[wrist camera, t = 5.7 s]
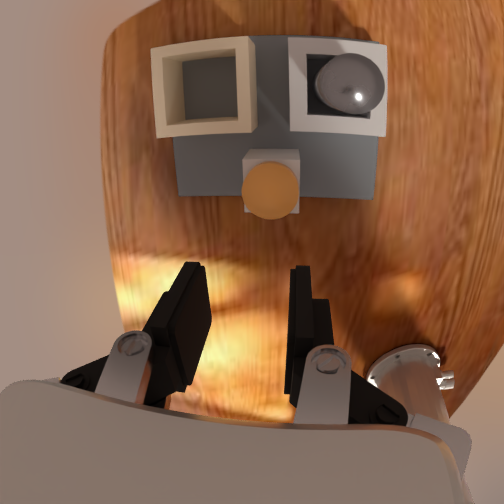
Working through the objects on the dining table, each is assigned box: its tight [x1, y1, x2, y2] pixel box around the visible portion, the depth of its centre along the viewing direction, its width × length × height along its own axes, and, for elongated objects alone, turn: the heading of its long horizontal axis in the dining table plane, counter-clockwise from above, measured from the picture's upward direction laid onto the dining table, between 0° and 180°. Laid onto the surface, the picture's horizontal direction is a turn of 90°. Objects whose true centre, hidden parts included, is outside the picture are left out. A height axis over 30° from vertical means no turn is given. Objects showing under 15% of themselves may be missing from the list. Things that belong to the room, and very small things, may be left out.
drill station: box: [151, 35, 387, 213], centre depth 25 cm, size 20×16×6 cm
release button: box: [242, 161, 299, 220], centre depth 26 cm, size 4×4×6 cm
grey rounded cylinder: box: [311, 53, 385, 114], centre depth 20 cm, size 4×4×10 cm
